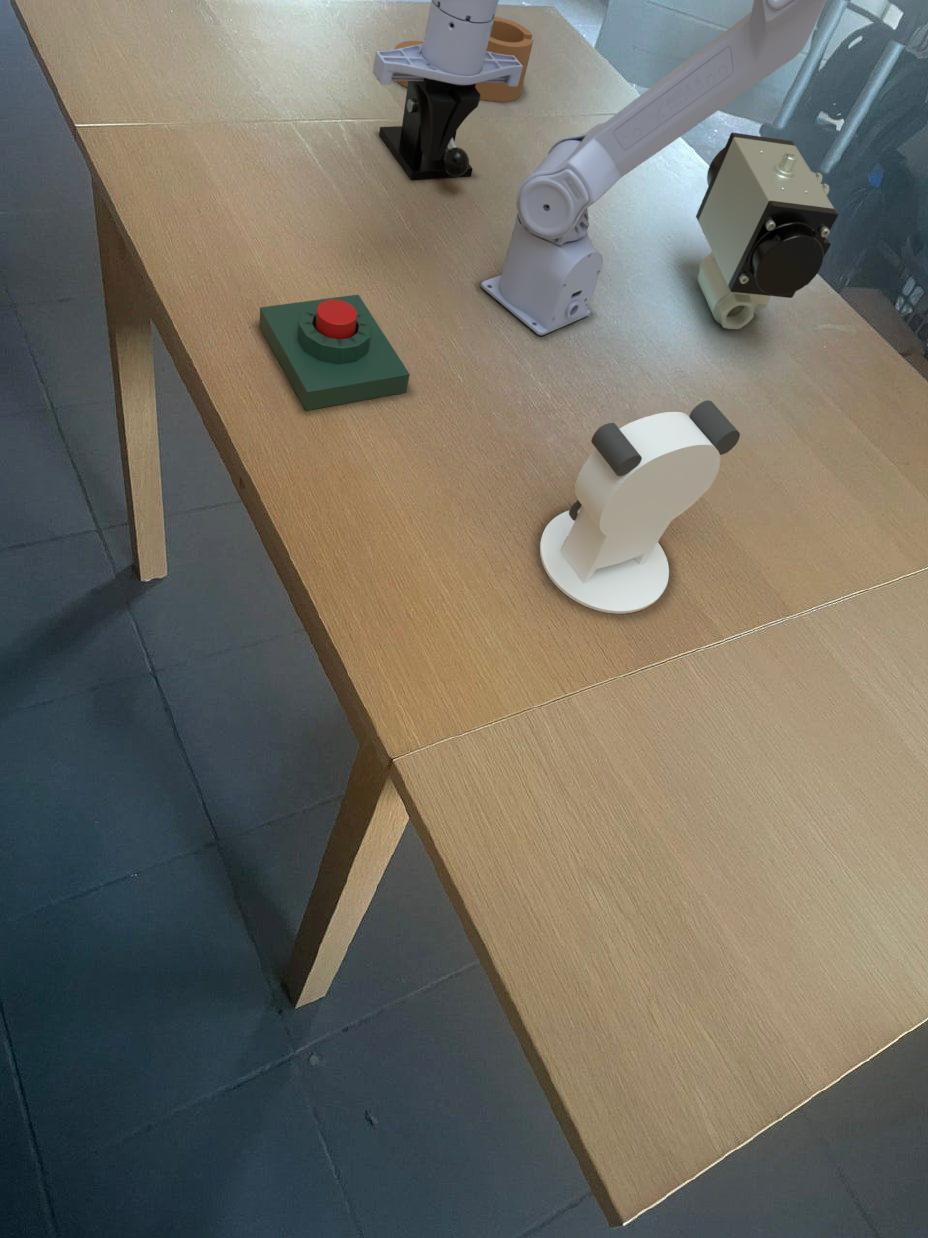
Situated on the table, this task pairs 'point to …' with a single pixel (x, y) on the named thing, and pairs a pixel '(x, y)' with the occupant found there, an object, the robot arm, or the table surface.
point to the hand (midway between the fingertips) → (430, 154)
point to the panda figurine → (633, 506)
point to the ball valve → (760, 226)
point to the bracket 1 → (501, 41)
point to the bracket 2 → (413, 143)
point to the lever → (455, 160)
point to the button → (336, 319)
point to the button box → (332, 355)
